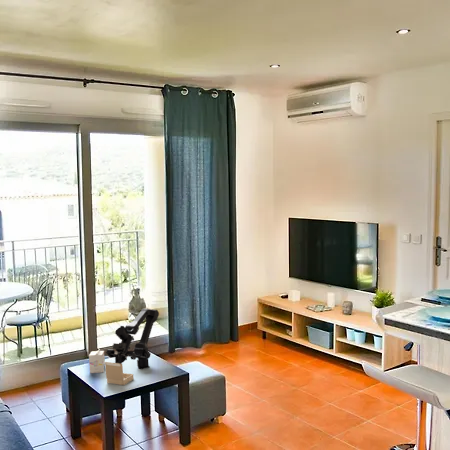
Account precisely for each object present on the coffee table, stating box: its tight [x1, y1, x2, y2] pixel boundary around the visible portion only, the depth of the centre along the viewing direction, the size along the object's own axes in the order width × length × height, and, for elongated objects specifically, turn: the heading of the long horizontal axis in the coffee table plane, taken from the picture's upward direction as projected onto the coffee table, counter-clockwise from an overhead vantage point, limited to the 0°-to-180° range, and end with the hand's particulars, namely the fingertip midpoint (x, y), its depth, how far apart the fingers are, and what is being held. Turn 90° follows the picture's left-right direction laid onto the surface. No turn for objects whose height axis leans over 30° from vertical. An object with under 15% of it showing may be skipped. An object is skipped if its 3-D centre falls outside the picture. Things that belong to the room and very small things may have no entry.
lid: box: [105, 361, 124, 381], centre depth 295 cm, size 10×12×1 cm
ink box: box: [88, 348, 106, 374], centre depth 321 cm, size 9×8×13 cm
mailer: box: [106, 372, 135, 386], centre depth 301 cm, size 10×12×3 cm
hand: (115, 367), depth 297 cm, fingers closed
